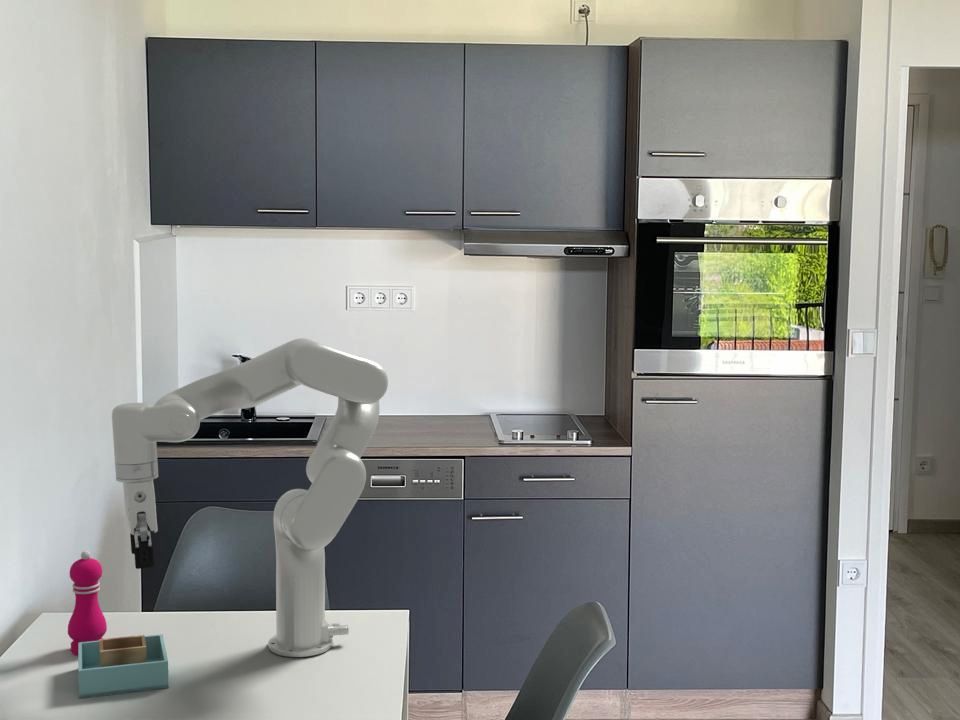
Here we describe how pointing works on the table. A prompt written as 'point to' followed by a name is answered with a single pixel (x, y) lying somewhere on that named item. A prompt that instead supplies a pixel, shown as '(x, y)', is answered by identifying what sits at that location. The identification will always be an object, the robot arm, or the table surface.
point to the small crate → (122, 651)
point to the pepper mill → (86, 602)
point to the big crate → (122, 670)
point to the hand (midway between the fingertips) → (142, 559)
